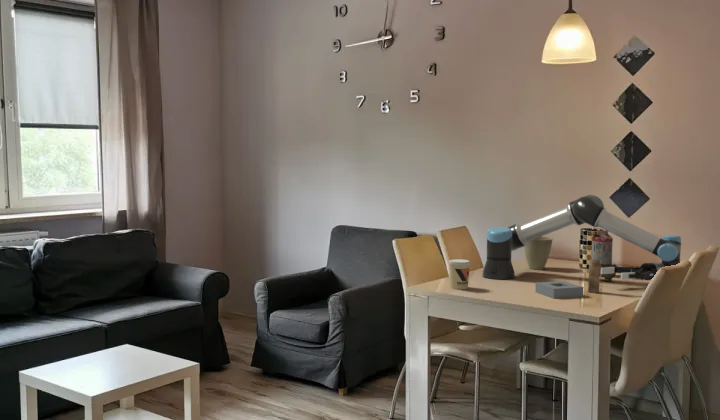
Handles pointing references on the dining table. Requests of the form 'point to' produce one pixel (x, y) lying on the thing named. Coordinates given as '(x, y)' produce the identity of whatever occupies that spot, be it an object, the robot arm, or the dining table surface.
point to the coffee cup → (459, 273)
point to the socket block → (559, 289)
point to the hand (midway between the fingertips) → (611, 273)
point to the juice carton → (602, 248)
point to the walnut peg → (594, 276)
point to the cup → (607, 276)
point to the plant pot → (538, 252)
